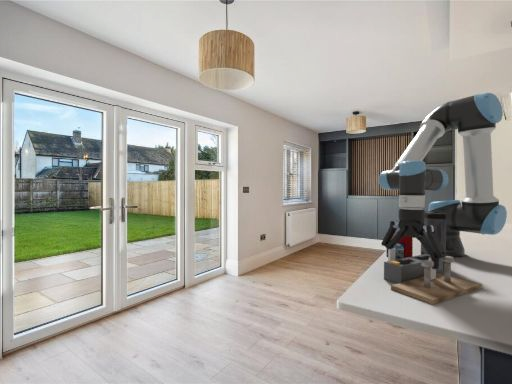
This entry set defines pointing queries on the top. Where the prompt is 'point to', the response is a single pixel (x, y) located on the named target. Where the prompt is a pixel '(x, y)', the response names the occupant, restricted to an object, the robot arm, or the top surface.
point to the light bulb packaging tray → (407, 268)
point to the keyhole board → (436, 284)
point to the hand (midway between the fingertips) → (410, 273)
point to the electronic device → (436, 228)
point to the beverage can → (403, 247)
